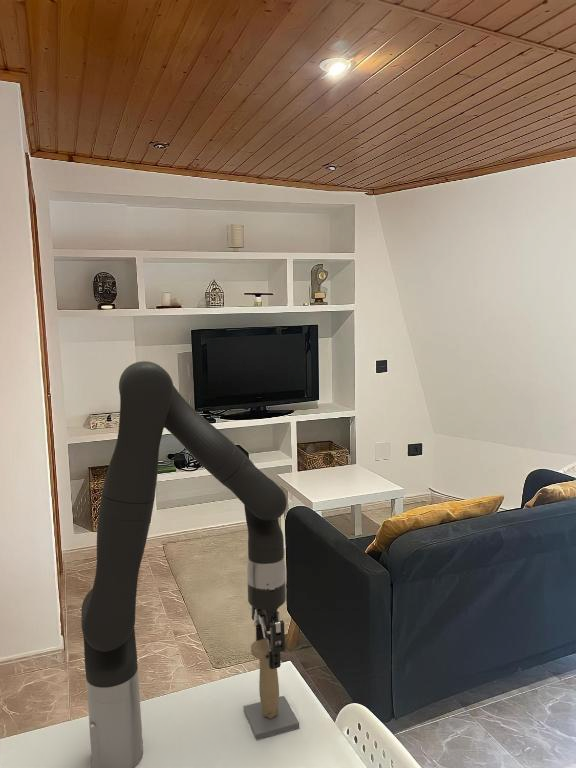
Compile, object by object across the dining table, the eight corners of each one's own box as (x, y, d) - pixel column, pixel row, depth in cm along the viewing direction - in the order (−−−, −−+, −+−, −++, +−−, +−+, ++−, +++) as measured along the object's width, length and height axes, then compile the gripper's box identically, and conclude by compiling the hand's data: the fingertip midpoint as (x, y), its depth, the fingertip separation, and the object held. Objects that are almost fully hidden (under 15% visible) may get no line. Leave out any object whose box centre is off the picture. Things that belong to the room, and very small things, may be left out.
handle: (286, 720, 118) (283, 651, 116) (254, 723, 118) (251, 654, 115) (285, 704, 123) (282, 637, 121) (254, 707, 122) (251, 640, 120)
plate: (256, 740, 115) (255, 734, 114) (243, 711, 123) (243, 706, 123) (299, 728, 118) (299, 722, 117) (284, 700, 126) (284, 695, 126)
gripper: (238, 567, 122) (240, 641, 124) (258, 598, 109) (260, 680, 111) (273, 561, 124) (274, 634, 126) (297, 591, 111) (298, 671, 113)
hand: (267, 655), depth 119 cm, fingers open, 8 cm apart
